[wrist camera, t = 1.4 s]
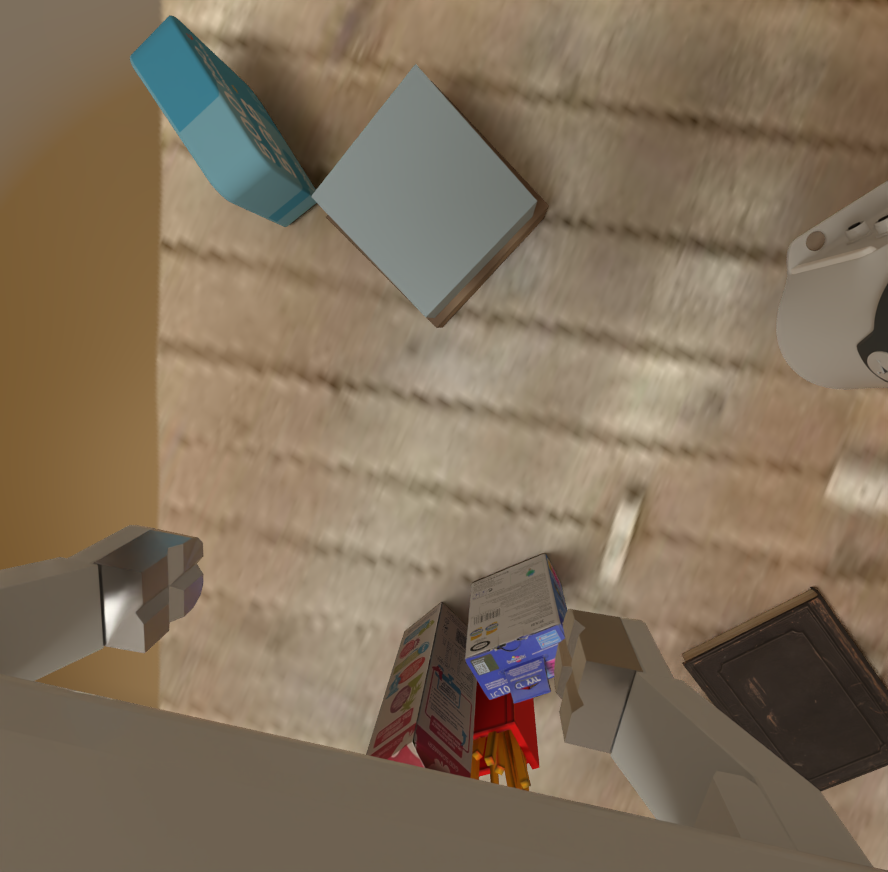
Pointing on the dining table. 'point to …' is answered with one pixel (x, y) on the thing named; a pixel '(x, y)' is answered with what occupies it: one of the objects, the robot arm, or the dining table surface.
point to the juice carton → (429, 698)
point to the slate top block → (425, 195)
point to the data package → (222, 125)
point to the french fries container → (504, 739)
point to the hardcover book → (799, 690)
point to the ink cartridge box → (516, 629)
